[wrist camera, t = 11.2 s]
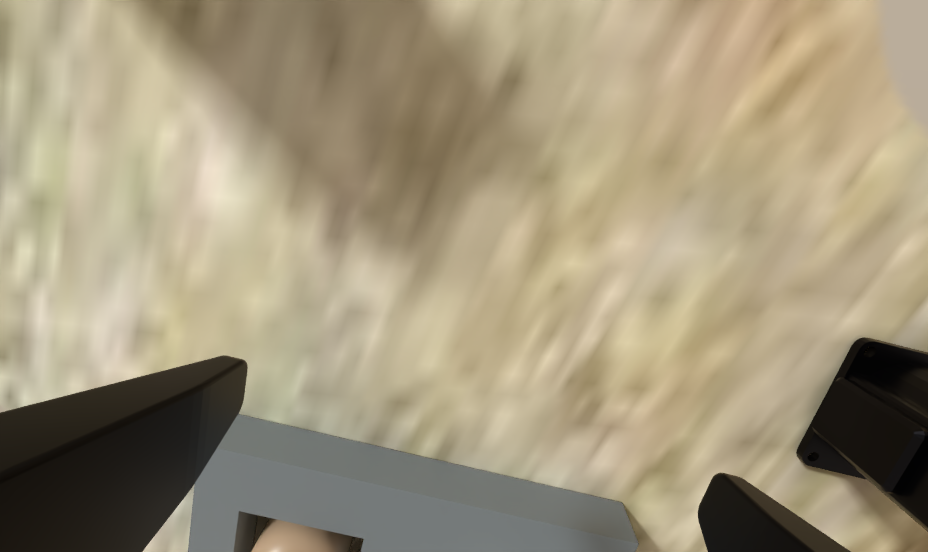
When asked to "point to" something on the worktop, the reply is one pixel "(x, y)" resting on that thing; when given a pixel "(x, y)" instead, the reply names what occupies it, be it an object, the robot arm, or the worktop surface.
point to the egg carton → (382, 501)
